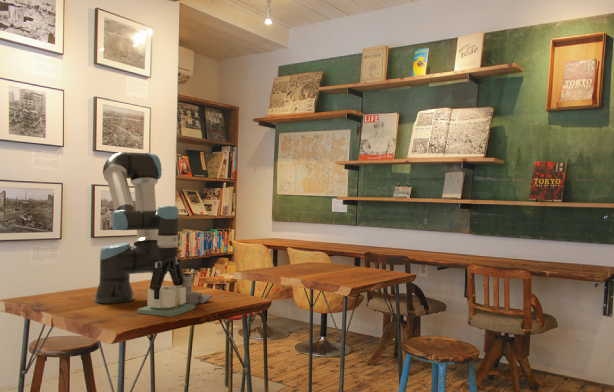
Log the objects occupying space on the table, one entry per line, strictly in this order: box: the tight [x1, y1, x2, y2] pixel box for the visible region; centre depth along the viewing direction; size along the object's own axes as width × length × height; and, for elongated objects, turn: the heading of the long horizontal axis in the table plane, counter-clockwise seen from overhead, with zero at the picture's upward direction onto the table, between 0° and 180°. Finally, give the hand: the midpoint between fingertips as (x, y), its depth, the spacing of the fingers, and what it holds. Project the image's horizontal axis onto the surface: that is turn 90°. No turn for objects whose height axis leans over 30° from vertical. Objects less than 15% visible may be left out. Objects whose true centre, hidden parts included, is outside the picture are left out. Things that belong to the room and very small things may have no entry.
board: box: [137, 298, 196, 318], centre depth 189 cm, size 15×15×7 cm
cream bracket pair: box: [146, 284, 186, 308], centre depth 189 cm, size 10×10×6 cm
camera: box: [181, 275, 213, 306], centre depth 202 cm, size 9×12×15 cm
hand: (166, 304), depth 189 cm, fingers closed on cream bracket pair, 10 cm apart
